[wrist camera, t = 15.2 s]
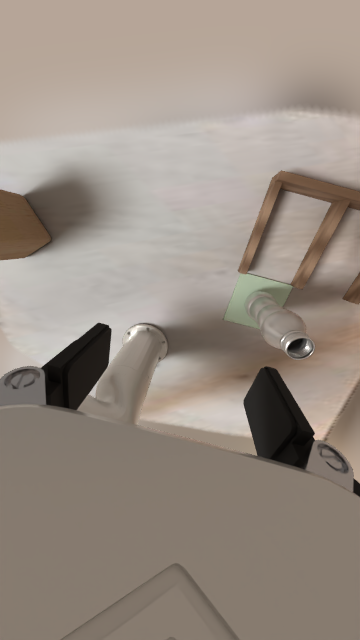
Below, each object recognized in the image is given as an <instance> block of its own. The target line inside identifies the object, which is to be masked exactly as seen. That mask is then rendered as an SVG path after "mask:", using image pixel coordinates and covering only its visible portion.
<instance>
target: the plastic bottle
mask: <svg viewBox="0 0 360 640" xmlns="http://www.w3.org/2000/svg"><path fill="white" fill-rule="evenodd" d="M245 311H246V313H247V314H248V316H249V317H251V318H252V319H253V320H255V321H256V322H257V324H258V326H259V328H260V331H261V334H262V336H263V338H264V340H265V341H266V342H267V343H268V344H269V345H271V346H273V347H275V348H277V349H282V350H283V351H284V352H285V353H286V354H287V355H288V356H289V357H290V358H292V359H295V360H302V359H306V358H308V357H309V356H311V355H312V354H313V352H314V350H315V344H314V342H313V341H312V339H310V338H309V336H308V335H307V334H306V326H305V323H304V321H303V320H302V318H301V317H300V316H299V315H297V314H295V313H293V312H291V311H289V310H287V309H284V308H283V307H281V306H280V305H279V304H278V303H277V302H276V300H275V298H274V297H273V296H272V295H271V294H269V293H267V292H263V291H257V292H254V293H252V294H250V295H249V296H248V297H247V299H246V301H245Z"/></svg>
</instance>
